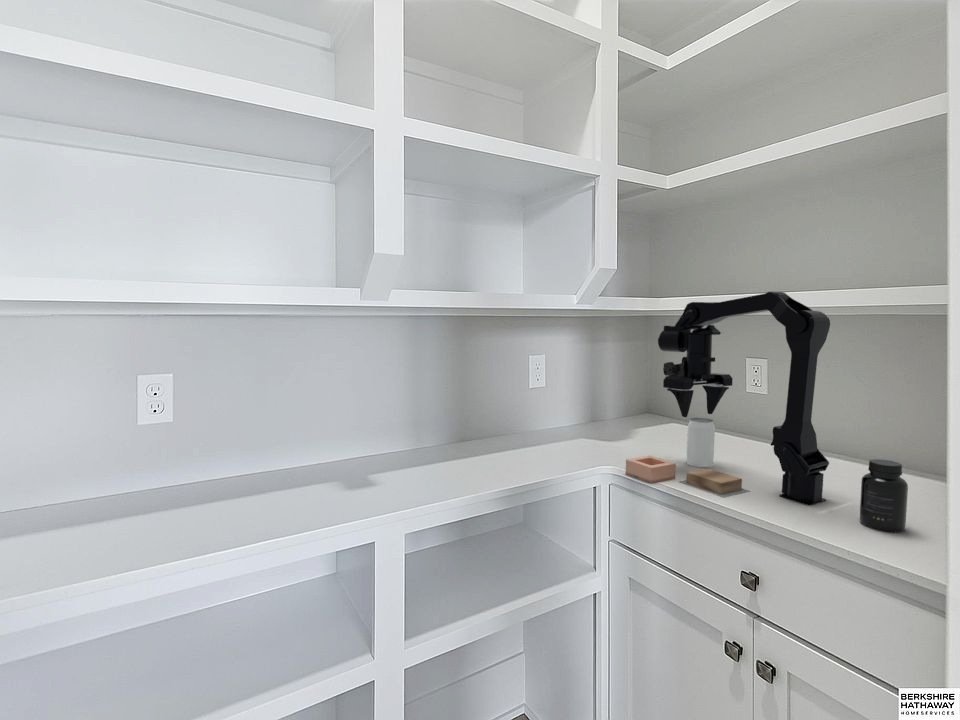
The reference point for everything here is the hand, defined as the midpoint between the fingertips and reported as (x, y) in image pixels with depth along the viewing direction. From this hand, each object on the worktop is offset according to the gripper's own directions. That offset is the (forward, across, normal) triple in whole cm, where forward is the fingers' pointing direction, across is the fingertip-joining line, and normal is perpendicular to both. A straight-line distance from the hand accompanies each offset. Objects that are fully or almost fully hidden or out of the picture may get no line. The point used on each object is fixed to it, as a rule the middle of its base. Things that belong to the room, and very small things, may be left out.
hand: (697, 415), depth 132 cm
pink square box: (+14, +15, 0) cm, 21 cm away
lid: (+14, +8, +12) cm, 20 cm away
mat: (+14, +8, +12) cm, 20 cm away
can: (+14, -5, -3) cm, 15 cm away
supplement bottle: (+15, -1, +40) cm, 43 cm away
